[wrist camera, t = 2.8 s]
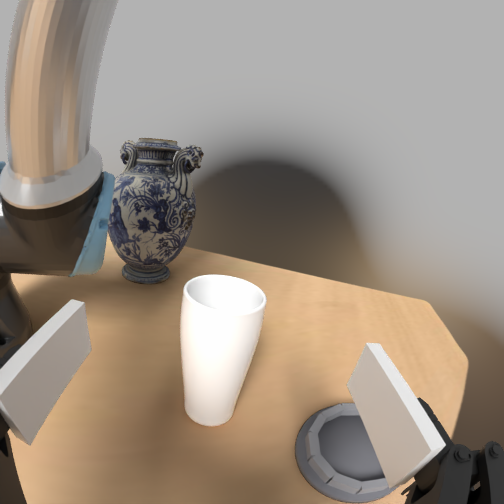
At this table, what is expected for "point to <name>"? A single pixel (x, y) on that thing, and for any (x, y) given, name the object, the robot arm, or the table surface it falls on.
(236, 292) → the drinking glass
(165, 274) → the decorative vase
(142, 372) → the table surface
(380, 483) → the coaster
